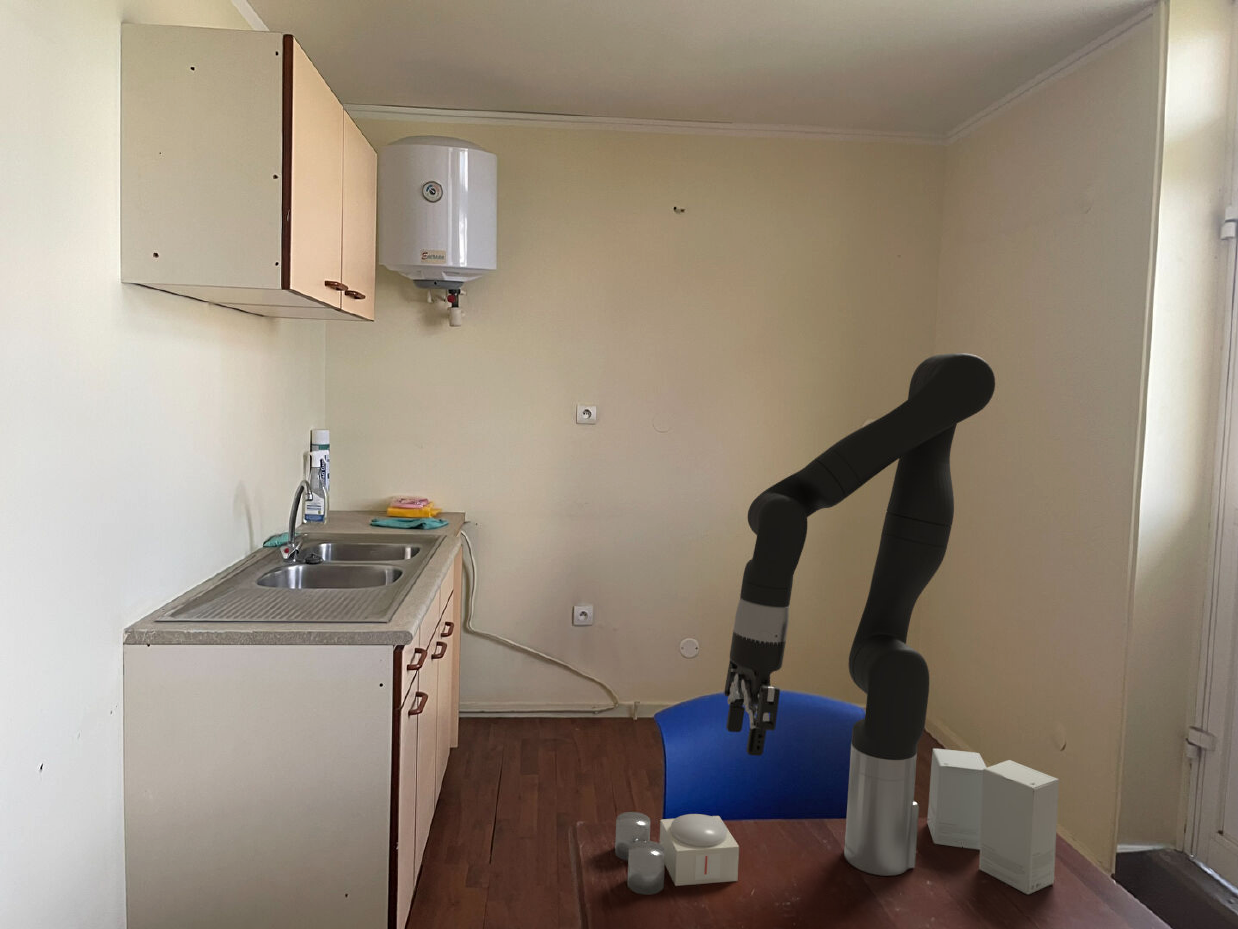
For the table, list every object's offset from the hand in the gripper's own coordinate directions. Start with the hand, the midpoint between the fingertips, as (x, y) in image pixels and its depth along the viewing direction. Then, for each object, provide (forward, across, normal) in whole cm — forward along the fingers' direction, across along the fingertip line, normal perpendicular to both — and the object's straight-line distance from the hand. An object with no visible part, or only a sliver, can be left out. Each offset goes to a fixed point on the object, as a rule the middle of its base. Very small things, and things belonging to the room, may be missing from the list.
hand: (743, 742), depth 128 cm
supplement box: (+15, +3, -39) cm, 41 cm away
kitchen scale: (+19, 0, +4) cm, 19 cm away
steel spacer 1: (+20, +5, +13) cm, 24 cm away
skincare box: (+14, -9, -40) cm, 44 cm away
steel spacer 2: (+20, -4, +13) cm, 24 cm away
